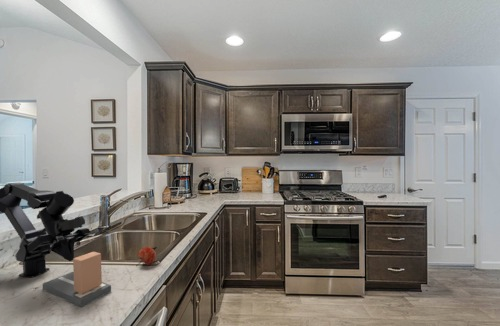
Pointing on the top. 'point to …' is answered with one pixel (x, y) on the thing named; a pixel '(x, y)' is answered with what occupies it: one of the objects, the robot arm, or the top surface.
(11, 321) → the top surface
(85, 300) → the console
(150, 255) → the pomegranate
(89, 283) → the fader knob
